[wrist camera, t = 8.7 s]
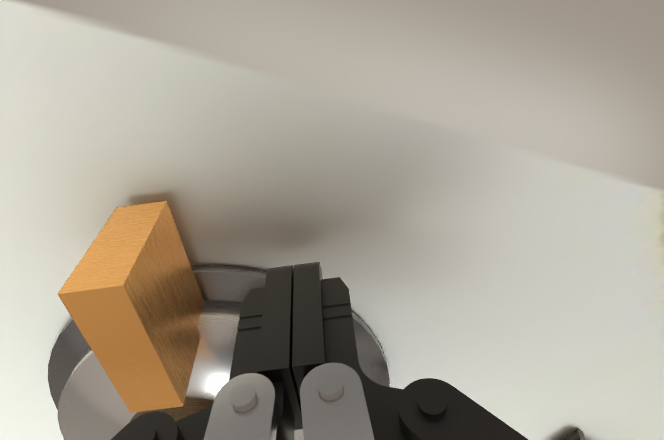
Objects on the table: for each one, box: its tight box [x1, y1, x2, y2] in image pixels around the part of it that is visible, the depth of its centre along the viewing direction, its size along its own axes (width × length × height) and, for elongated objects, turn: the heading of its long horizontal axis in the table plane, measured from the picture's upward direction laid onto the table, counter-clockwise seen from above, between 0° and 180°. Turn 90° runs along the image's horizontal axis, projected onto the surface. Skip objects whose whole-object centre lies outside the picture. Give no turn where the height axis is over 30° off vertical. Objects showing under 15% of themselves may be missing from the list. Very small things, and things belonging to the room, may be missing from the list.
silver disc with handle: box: [58, 201, 304, 440], centre depth 16 cm, size 16×12×4 cm
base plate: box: [48, 265, 389, 409], centre depth 19 cm, size 14×14×1 cm
